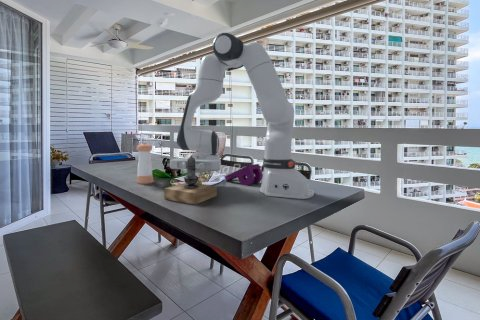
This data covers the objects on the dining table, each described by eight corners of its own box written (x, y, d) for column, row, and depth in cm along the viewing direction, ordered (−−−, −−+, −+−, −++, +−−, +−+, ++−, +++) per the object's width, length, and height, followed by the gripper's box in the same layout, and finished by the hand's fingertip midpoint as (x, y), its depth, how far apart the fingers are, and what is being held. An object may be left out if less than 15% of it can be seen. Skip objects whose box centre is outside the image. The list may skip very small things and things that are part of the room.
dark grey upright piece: (198, 188, 100) (198, 155, 99) (182, 188, 100) (182, 155, 99) (199, 185, 106) (200, 154, 105) (184, 185, 106) (184, 154, 105)
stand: (216, 196, 106) (217, 186, 106) (194, 204, 94) (194, 193, 94) (188, 191, 113) (188, 182, 113) (164, 198, 101) (164, 188, 101)
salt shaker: (140, 184, 126) (139, 143, 124) (134, 182, 131) (133, 142, 129) (155, 182, 131) (154, 142, 129) (149, 180, 136) (148, 142, 134)
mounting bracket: (226, 194, 135) (254, 182, 125) (221, 178, 137) (247, 165, 126) (237, 190, 143) (264, 179, 132) (232, 175, 144) (258, 163, 134)
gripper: (175, 154, 116) (163, 157, 102) (223, 155, 114) (217, 159, 100) (176, 168, 117) (163, 174, 103) (223, 170, 115) (217, 176, 101)
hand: (190, 166), depth 102 cm, fingers closed on dark grey upright piece, 3 cm apart
